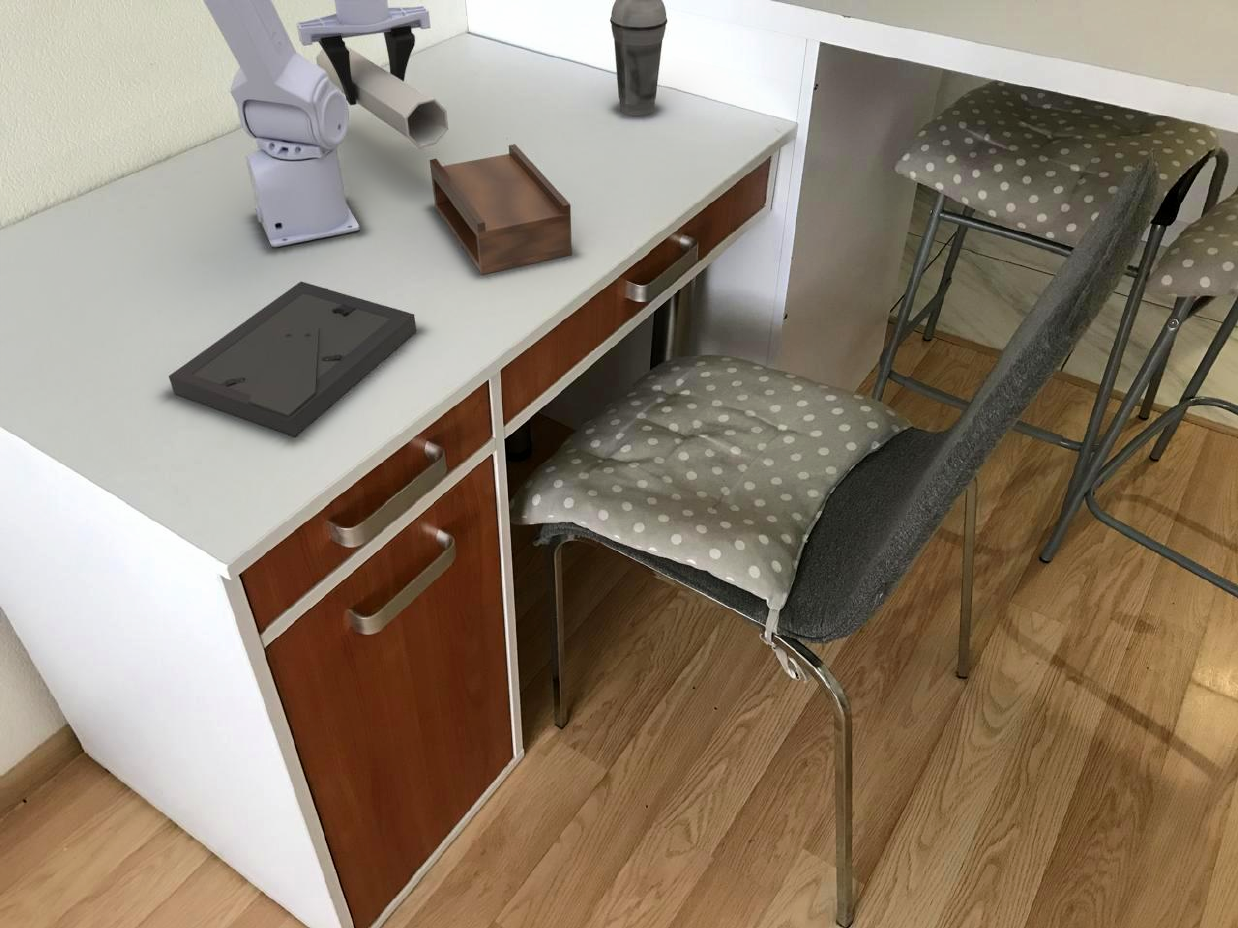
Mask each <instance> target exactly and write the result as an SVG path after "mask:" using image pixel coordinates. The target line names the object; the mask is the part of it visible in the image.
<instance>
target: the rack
mask: <svg viewBox="0 0 1238 928" xmlns="http://www.w3.org/2000/svg"><path fill="white" fill-rule="evenodd" d="M429 166H430V175H431V185H432V192H433V201H434V208H435V210H436V212H437V213H438V214H439V216H440V217H441V218H442V220H443V222H444V223H445V224H446V226H447V227H448V228H449V230H450V231H451V233H452V235H454V237H455V239H456V240H457V242H458V243H459V245H460V246H461V247H462V248H463V250H464V251H465V252H466V254H467V255H468V257H469V258H470V259H471V261H472V262H473V264H474V266H475V267H476V268H477V269H478V271H479V272H480V274H481V275H486V274H491V273H496V272H500V271H504V270H509V269H514V268H518V267H522V266H523V267H524V266H527V265H532V264H535V263H541V262H545V261H549V260H554V259H558V258H562V257H567V256H572V255H573V250H572V249H573V248H572V214H571V213H572V211H571V207H572V206H571V203H570V202H569V201H568V200H567V199H566V198H565V197H564V196H563V195H562V194H561V192H560V191H559V190H558V189H557V188H556V186H554V185H553V183H551V181H550V180H549V179H548V178H547V177H546V176H545V175H544V174H543V173H542V172H541V170H539V168H538V167H537V166H536V165H535V164H534V163H533V162H532V161H531V160H530V159H529V157H528V156H527V155H526V154H525V153H524V152H523V151H522V150H521V148H519V147H518V146H517V145H516V144H515V143H512V144H509V145H508V153H506V154H500V155H495V156H490V157H485V158H479V159H474V160H473V159H472V160H469V161H463V162H458V163H451V164H447V165H442V164H441V163H440V161H439V160H438V158H432V159H431V158H430V159H429Z"/></svg>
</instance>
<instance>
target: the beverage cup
mask: <svg viewBox="0 0 1238 928" xmlns="http://www.w3.org/2000/svg"><path fill="white" fill-rule="evenodd" d="M610 13H611V15H610V18H609V22H610V24H611V26H610V27H611V32H612V37H613V41H614V42H613V43H614V54H615V55H614V56H615V67H616V82H617V93H618V94H617V95H618V101H619V102H618V103H619V111H620V112H621V113H622V114H623V115H626V116H630V117H645V116H649V115H652V114H653V113H654V110H655V103H656V99H657V91H658V90H657V89H658V83H659V82H658V81H659V73H660V64H661V57H662V56H661V55H662V47H663V41H664V37H665V34H666V33H665V32H666V29H667V24H668V18H667V11H666V7H665V4H664V2H663V0H615V1H614V3H613V5H612V9H611V12H610Z"/></svg>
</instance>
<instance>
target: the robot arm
mask: <svg viewBox="0 0 1238 928" xmlns="http://www.w3.org/2000/svg"><path fill="white" fill-rule="evenodd" d="M202 1H203V3H204V4H205V6H206V8H207V9H208V11H209V14H210V15H211V17H212V18H213V21H214V22H215V25H216V26H217V27H218V28H217V29H218V30H219V32H220V33H221V35H222V37H223V38H224V40H225V43H226V44H227V46H228V48H229V49H230V51H231V53H232V55H233V57H234V59H235V60H236V62H237V64H238V66H239V68H238V69H237V70H236V72H235V75H234V77H233V80H232V82H231V86H230V89H229V92H230V94H231V96H232V98H233V100H234V102H235V105H236V108H237V115H238V118H239V121H240V124H241V126H242V128H243V130H244V132H245V133H246V134H247V136H249V137H250V138H252V139H255V141H256V144H257V148H258V150H256V151H253V152H249V153H246V154H245V161H246V166H247V170H248V176H249V180H250V184H251V187H252V191H253V196H254V200H255V204H256V205H255V206H254V207H255V208H254V209H255V212H256V216H257V220H258V222H259V224H261V225H262V228H263V230H264V232H265V234H266V237H267V239H268V242H269V244H270V246H271V247H273V248H278V247H283V246H288V245H293V244H297V243H298V244H299V243H303V242H308V241H313V240H317V239H323V238H328V237H333V236H338V235H343V234H347V233H352V232H357V231H359V230H360V225H359V222H358V221H357V219H356V217H355V216H354V214H353V212H352V210H351V209H350V207H349V205H348V203H347V199H346V198H347V197H346V193H345V188H344V182H343V176H342V171H341V170H342V169H341V164H340V159H339V154H338V147H339V146H340V144H342V142H343V141H344V139H345V137H346V135H347V133H348V129H349V124H350V110H349V105H350V106H356V105H357V103H356V96H355V92H354V87H353V83H352V78H351V69H350V55H349V50H348V49H347V48H346V46H347V45H346V42H345V41H344V40H343V39H346V38H347V39H348V38H354V37H362V36H370V35H376V34H383V36H384V41H385V46H386V51H387V56H388V63H389V73H391V74H392V75H394V76H396V77H397V78H399V79H400V80H402V81H404V82H405V79H406V78H405V77H406V72H407V67H408V64H409V60H410V57H411V55H412V52H413V50H414V47H415V45H416V36H415V34H414V33H413V29H419V28H420V29H421V30H427V29H431V21H430V19H431V18H430V11H429V9H427V8H426V7H425V6H424V5H421V6H420V5H419V6H401V7H400V6H398V7H389V3H388V0H334V7H335V12H336V13H332V14H330V15H325V16H321V17H318V18H314V19H309V20H305V21H299V22H296V23H295V24H296V29H297V30H296V31H297V35H298V39H299V40H298V41H299V42H300V43H301V45H302V47H303V46H304V47H305V46H312V45H313V43H318V44H319V46H321V48H322V49H323V50H324V51H325V53H326V55H327V56H328V58H329V60H330V61H331V63H332V65H333V67H334V69H335V71H336V73H337V75H338V77H339V79H340V82H341V84H342V87H343V90H344V93H345V94H343V93H342V91H341V90H340V89H339V88H338V87H337V86H335V85H334V84H333V83H332V82H331V81H330V79H329V77H328V75H327V72H326V71H325V70H324V69H322V68H321V67H319V66H317V63H314V62H313V61H311V60H310V59H308V58H306V57H305V56H303V55H301V54H300V53H298V52H297V50H296V49H295V47H294V44H293V42H292V39H291V38H290V36H289V33H288V32H287V30H286V27H285V26H284V23H283V22H282V20H281V17H280V15H279V13H278V12H277V9H276V7H275V5H274V3H273V1H272V0H202ZM345 45H346V46H345Z"/></svg>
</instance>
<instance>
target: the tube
mask: <svg viewBox="0 0 1238 928" xmlns="http://www.w3.org/2000/svg"><path fill="white" fill-rule="evenodd" d="M345 46H346V48H347V49H348V50H349V55H350V69H351V78H352V83H353V87H354V92H355V96H356V104H358V105H359V106H360V107H362V108H363V109H365V110H366V111H368V112H369V113H371V114H372V115H374V116H375V117H377V118H378V119H380V120H381V121H382V122H384V123H385V124H387V125H388V126H389V127H391V128H393V129H394V130H395V131H397V132H399V133H400V134H401V135H403V136H404V137H406V138H407V139H408V140H409V141H411V142H412V143H413V144H414V146H415V147H416V148H418V149H419V150H420V149H422V148H423V149H424V148H427V147H431V146H435V145H437V144H438V143H439V141H440V140H442V138H443V136H445V135H446V133H447V132H448V131H449V124H448V113H447V109H446V108H445V107H444V106H443V105H442V104H441V103H440V102H439V101H438V100H437V98H435V97H433V96H431V97H429V96H428V95H426V94H425V93H423V92H421V91H420V90H418V89H417V88H415V87H413V86H412V85H410V84H409V83H407V82H405V80H404V81H402V80H400V79H399V78H397V77H396V76H394V75H392V74H391V73H390V71H388V70H386V69H384V68H383V67H381V66H379V65H378V64H376V63H374V62H373V61H371V60H370V59H368V58H367V57H365V56H364V55H362V54H360V53H359V52H357V51H356V50H354V49H352V48H351V47H350V46H348V45H346V44H345ZM315 60H316V65H317V66H319V67H321V68H322V69H324V70H325V71H326V72H327V75H328V77H329V79H330V81H331V82H332V83H333V84H334V85H335V86H337V87H338V88H339V89H340V90H341V91H342V93H343V95H345V93H344V90H343V87H342V84H341V82H340V79H339V77H338V75H337V73H336V71H335V69H334V67H333V65H332V63H331V61H330V60H329V58H328V56H327V55H326V53H325V51H324V50H323V48H322V49H321V50H320V51H319V53H318V54H317V55H316V57H315Z"/></svg>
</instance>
